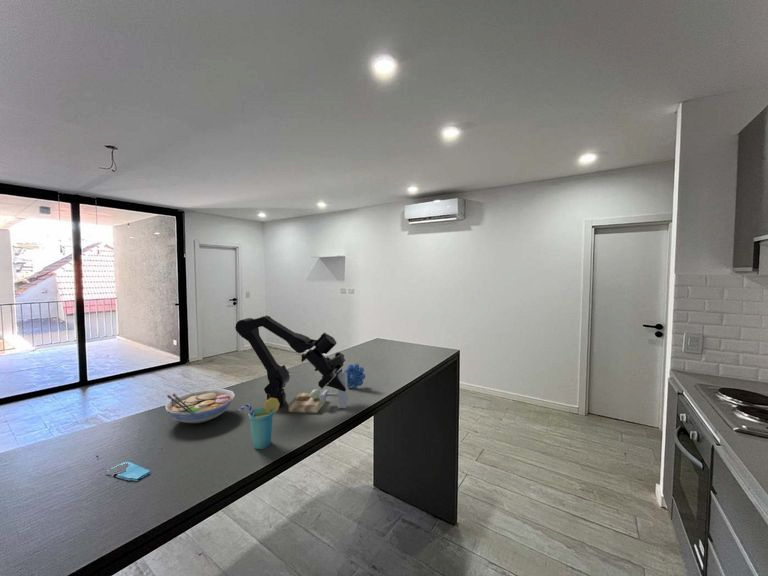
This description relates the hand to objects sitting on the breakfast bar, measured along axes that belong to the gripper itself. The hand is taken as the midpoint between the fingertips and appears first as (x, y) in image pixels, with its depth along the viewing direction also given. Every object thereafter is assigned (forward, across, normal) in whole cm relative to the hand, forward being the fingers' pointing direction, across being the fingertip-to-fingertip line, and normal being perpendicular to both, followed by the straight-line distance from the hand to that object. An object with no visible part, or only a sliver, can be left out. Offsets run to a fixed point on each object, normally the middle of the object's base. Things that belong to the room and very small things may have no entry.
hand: (346, 389), depth 130 cm
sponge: (-30, -48, +41) cm, 70 cm away
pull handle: (+2, 0, +9) cm, 9 cm away
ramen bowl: (-31, -15, +42) cm, 55 cm away
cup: (-9, -31, +20) cm, 38 cm away
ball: (-7, 0, +11) cm, 13 cm away
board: (-6, 0, +17) cm, 18 cm away
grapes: (+5, +22, +6) cm, 23 cm away
